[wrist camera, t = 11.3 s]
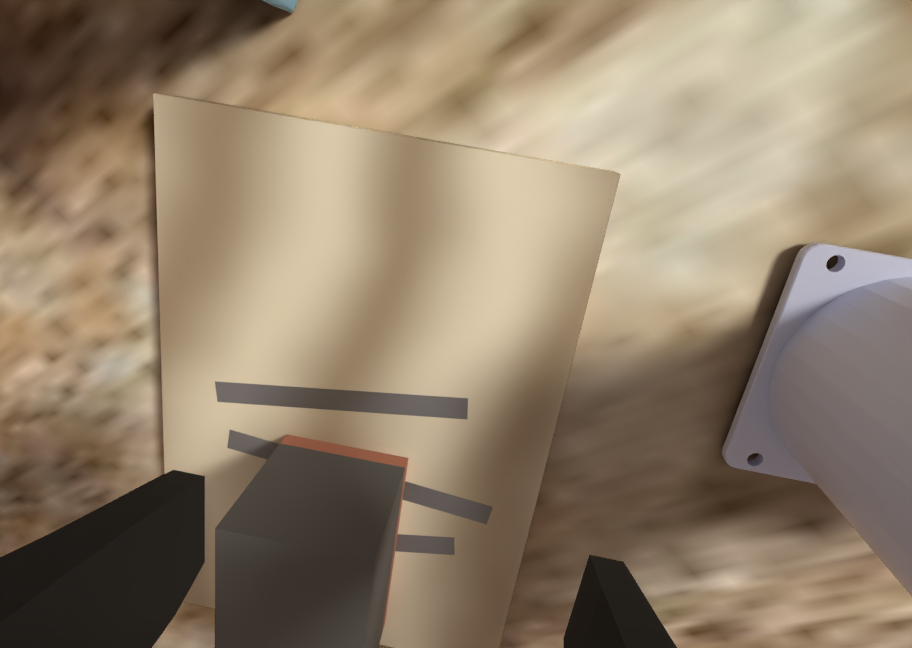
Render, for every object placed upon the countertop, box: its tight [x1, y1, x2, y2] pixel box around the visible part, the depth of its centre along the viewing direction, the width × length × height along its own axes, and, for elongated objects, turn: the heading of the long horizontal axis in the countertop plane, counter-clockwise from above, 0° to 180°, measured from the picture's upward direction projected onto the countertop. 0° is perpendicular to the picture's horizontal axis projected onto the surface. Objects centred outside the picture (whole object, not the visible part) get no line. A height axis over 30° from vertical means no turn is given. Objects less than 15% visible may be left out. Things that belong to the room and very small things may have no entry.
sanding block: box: [215, 435, 409, 648], centre depth 19 cm, size 4×8×5 cm, turn 171°
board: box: [153, 93, 620, 648], centre depth 20 cm, size 14×20×1 cm
